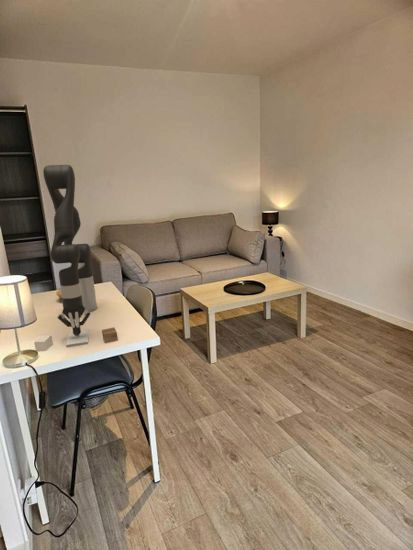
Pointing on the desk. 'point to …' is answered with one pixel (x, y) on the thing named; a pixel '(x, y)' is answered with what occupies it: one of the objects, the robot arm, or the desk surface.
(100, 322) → the desk surface
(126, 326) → the desk surface
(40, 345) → the grey plastic block
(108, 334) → the walnut block
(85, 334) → the hard drive
